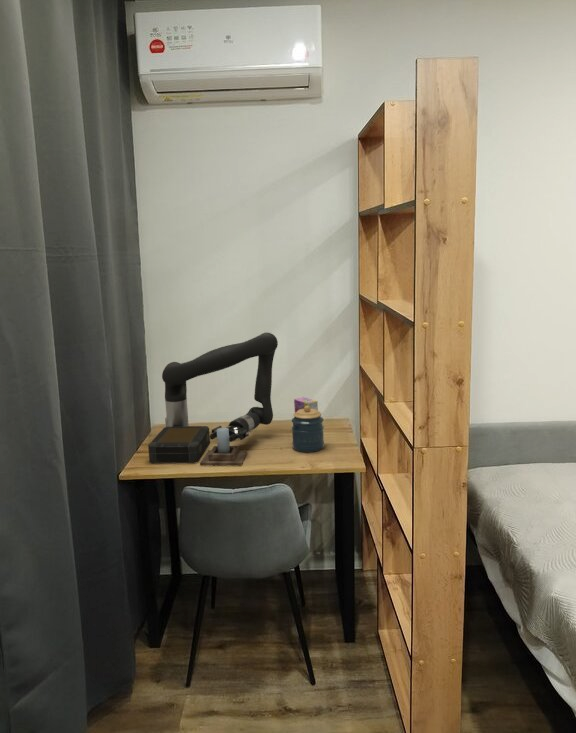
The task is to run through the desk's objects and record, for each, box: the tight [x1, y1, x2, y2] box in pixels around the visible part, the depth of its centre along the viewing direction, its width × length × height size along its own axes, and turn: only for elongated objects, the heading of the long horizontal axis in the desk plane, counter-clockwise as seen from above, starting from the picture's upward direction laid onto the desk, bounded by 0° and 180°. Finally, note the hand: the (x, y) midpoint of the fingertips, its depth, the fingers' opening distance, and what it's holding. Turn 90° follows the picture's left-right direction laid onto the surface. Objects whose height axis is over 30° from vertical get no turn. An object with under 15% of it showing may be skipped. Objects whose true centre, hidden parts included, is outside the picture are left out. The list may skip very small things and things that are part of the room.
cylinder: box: [216, 427, 231, 453], centre depth 237 cm, size 5×5×11 cm
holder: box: [199, 445, 248, 467], centre depth 238 cm, size 16×14×4 cm
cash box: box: [147, 425, 211, 464], centre depth 247 cm, size 25×20×8 cm
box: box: [293, 396, 319, 413], centre depth 278 cm, size 10×6×12 cm, turn 37°
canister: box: [291, 406, 325, 453], centre depth 247 cm, size 13×13×18 cm
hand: (220, 438), depth 235 cm, fingers open, 8 cm apart
